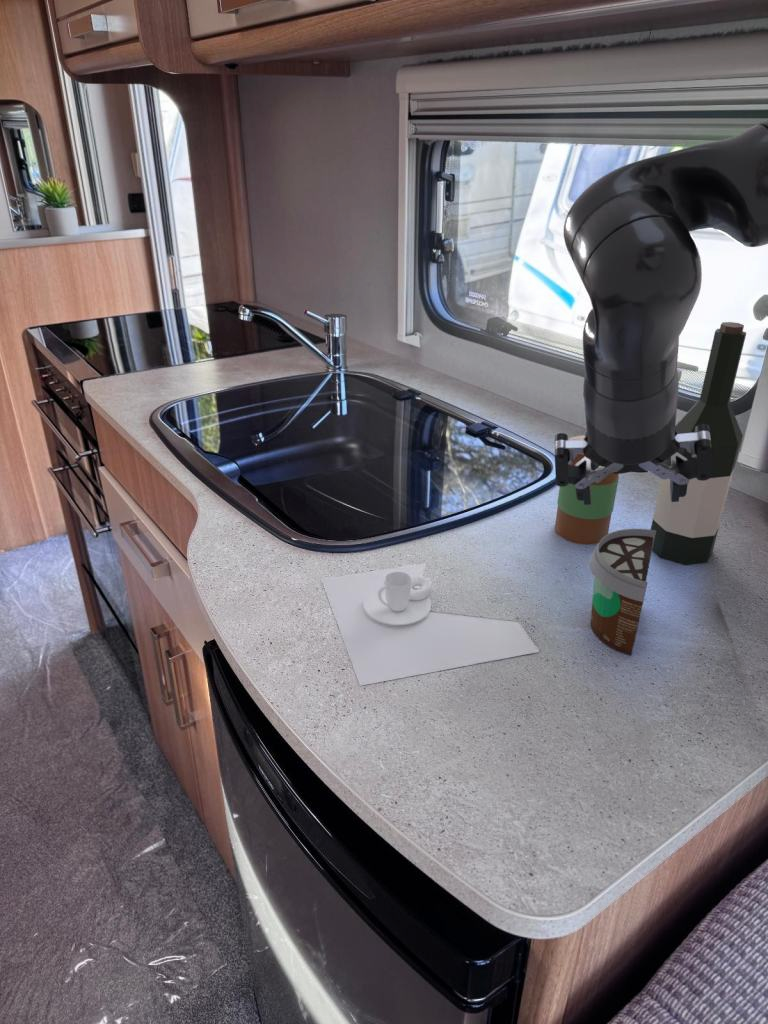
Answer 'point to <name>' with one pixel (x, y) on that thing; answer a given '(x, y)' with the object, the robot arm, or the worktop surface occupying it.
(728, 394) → the wine bottle
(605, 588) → the food container
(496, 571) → the worktop surface
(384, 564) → the worktop surface
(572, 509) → the pump bottle
